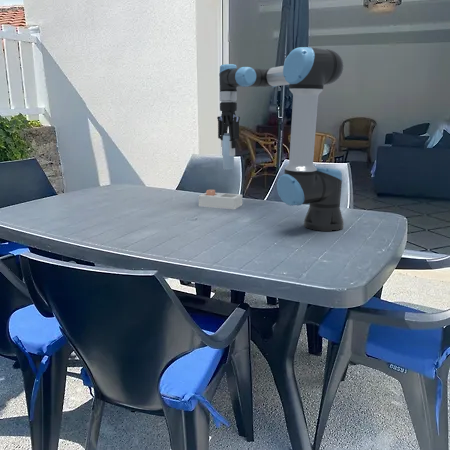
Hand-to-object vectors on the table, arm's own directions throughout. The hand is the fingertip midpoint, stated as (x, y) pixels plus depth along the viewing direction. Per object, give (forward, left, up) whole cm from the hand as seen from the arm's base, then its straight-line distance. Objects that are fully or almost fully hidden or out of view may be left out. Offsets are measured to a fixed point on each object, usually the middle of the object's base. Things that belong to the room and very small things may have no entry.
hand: (228, 155), depth 194 cm
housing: (0, +4, -25) cm, 25 cm away
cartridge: (0, 0, -6) cm, 6 cm away
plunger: (0, +9, -22) cm, 24 cm away
